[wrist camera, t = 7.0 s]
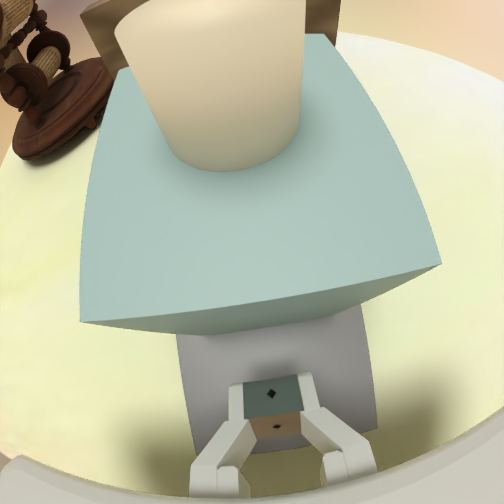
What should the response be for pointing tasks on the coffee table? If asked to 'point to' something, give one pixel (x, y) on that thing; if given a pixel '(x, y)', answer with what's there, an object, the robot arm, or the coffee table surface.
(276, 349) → the grey flat rectangular plate
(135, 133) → the dowel block
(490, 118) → the coffee table surface
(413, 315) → the coffee table surface
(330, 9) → the backstop wall
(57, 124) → the scroll
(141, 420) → the coffee table surface
